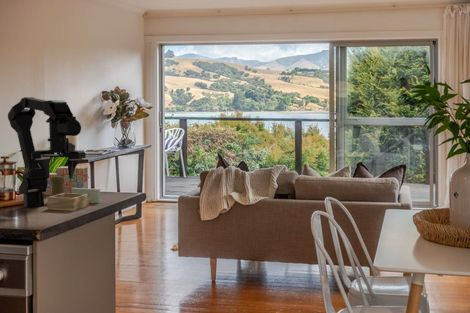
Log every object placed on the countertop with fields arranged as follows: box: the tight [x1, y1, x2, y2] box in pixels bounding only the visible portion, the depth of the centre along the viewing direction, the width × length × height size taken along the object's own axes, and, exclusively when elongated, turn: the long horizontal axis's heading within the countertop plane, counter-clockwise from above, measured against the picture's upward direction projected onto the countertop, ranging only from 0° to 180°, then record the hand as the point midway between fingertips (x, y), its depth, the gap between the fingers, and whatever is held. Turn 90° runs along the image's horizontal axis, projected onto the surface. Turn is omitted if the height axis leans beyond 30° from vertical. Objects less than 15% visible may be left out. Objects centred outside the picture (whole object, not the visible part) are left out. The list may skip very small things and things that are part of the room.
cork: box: [50, 176, 64, 196], centre depth 231 cm, size 6×6×11 cm
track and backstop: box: [71, 187, 101, 204], centre depth 219 cm, size 19×12×6 cm, turn 164°
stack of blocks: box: [42, 165, 89, 196], centre depth 254 cm, size 21×6×12 cm, turn 85°
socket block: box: [46, 193, 90, 211], centre depth 215 cm, size 11×11×4 cm
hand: (59, 178), depth 205 cm, fingers open, 9 cm apart
